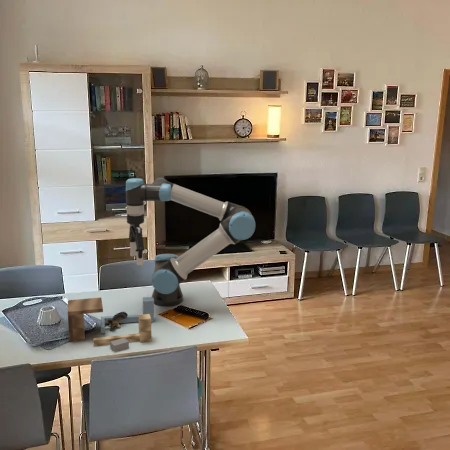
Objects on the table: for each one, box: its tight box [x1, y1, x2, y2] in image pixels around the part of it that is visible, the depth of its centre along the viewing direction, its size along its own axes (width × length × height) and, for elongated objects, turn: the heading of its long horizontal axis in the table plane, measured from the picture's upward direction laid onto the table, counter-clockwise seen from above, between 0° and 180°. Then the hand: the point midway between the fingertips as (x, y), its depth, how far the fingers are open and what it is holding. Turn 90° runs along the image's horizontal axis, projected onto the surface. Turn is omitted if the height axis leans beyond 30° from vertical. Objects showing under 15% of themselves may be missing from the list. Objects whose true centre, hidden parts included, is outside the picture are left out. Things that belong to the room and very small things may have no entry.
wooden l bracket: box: [67, 296, 104, 343], centre depth 204 cm, size 14×12×13 cm
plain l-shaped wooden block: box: [93, 313, 152, 347], centre depth 198 cm, size 22×4×10 cm, turn 107°
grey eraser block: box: [109, 338, 130, 353], centre depth 194 cm, size 6×4×3 cm, turn 127°
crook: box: [100, 296, 155, 334], centre depth 212 cm, size 22×12×10 cm, turn 104°
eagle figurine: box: [105, 311, 129, 332], centre depth 211 cm, size 8×7×9 cm
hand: (136, 260), depth 222 cm, fingers open, 13 cm apart
